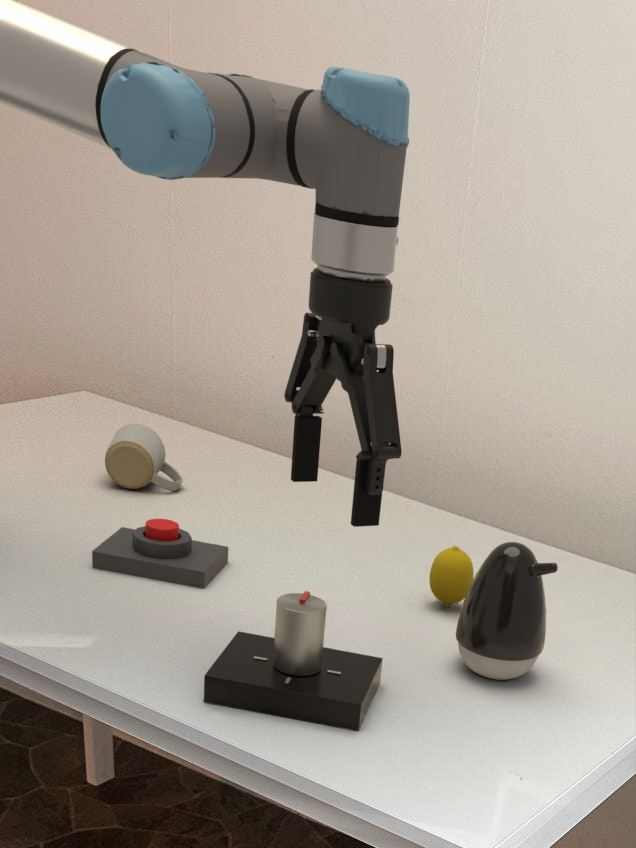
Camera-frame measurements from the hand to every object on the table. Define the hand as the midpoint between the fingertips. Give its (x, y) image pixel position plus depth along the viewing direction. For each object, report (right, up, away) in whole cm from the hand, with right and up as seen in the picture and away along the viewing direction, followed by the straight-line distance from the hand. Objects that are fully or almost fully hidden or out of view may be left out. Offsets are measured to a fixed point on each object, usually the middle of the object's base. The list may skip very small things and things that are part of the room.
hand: (333, 502), depth 119 cm
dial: (-4, -16, +4) cm, 17 cm away
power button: (-25, +4, +27) cm, 37 cm away
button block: (-25, +1, +29) cm, 39 cm away
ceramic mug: (-35, +19, +55) cm, 67 cm away
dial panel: (-5, -18, +5) cm, 20 cm away
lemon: (+11, -4, +32) cm, 34 cm away
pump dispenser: (+17, -14, +18) cm, 28 cm away
